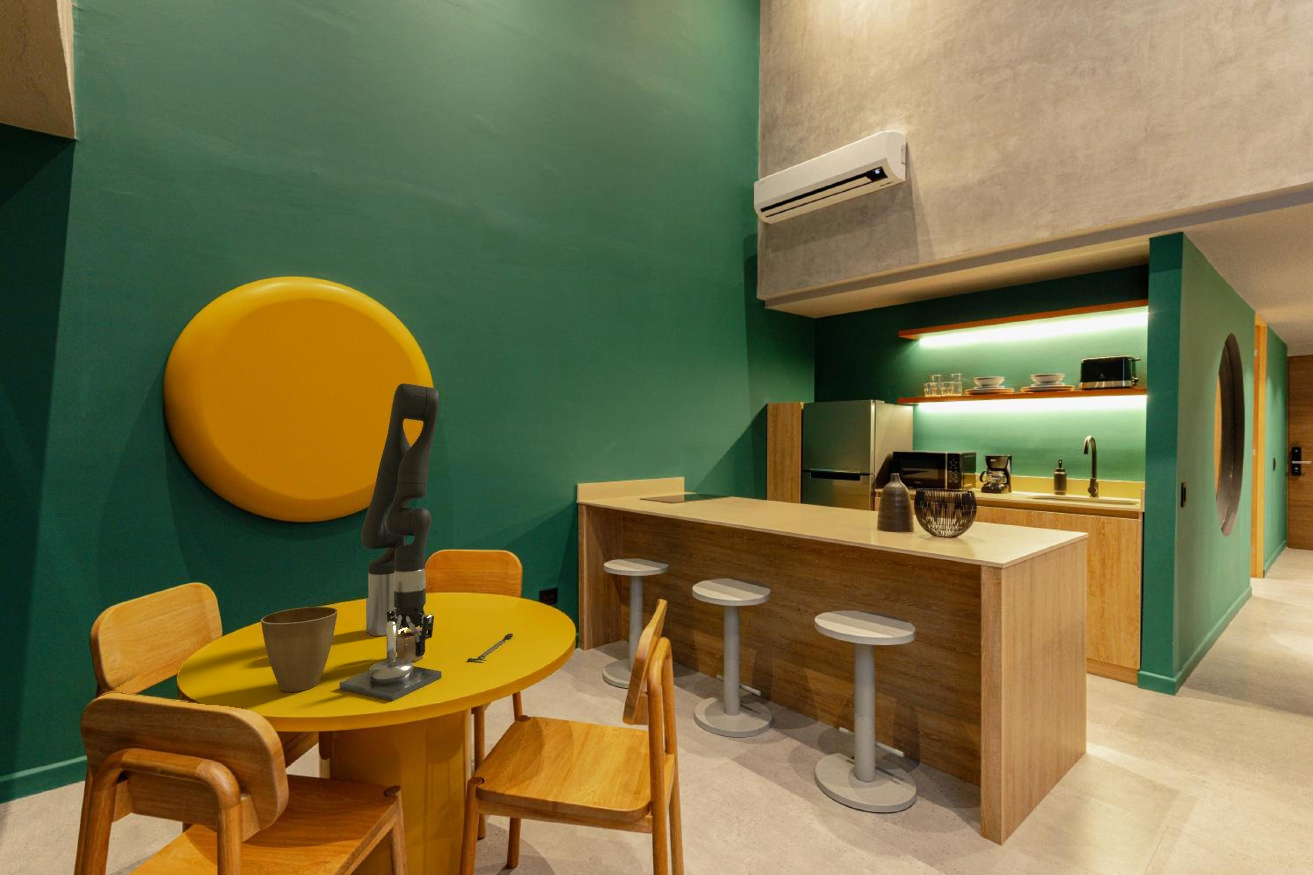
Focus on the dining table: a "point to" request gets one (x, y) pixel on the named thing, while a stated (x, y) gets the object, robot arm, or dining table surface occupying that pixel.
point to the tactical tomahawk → (491, 649)
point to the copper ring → (407, 646)
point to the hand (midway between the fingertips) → (410, 653)
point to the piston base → (390, 688)
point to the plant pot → (299, 645)
